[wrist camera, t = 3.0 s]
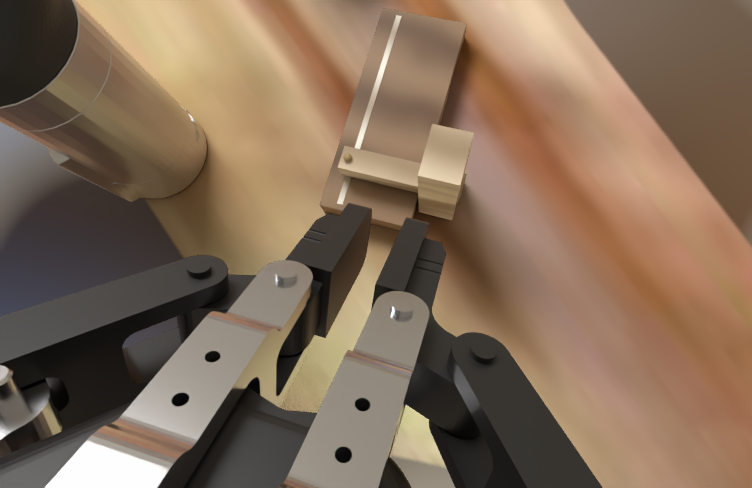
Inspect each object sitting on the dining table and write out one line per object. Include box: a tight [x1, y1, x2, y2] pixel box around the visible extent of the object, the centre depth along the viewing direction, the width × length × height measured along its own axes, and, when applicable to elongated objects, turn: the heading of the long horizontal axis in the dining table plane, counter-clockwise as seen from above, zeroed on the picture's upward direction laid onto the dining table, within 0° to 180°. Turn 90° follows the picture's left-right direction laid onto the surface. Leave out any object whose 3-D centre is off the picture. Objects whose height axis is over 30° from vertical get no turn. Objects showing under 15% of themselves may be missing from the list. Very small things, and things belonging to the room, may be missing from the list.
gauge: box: [338, 124, 474, 220], centre depth 37 cm, size 4×10×9 cm, turn 74°
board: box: [320, 8, 467, 231], centre depth 42 cm, size 20×8×2 cm, turn 164°
